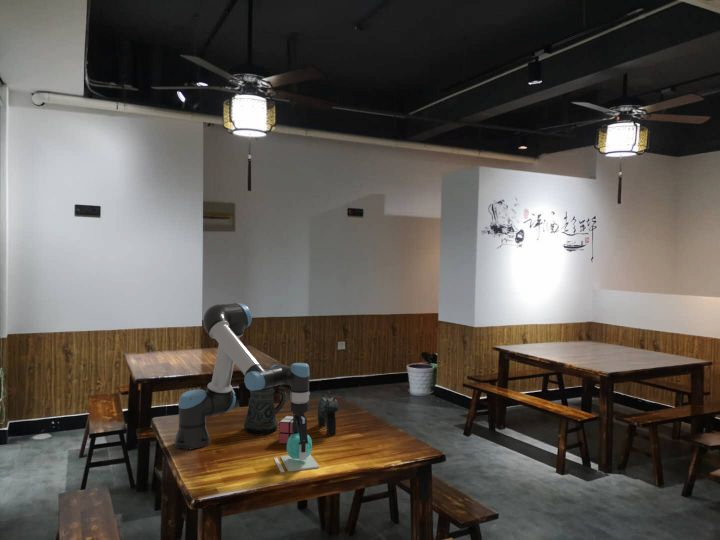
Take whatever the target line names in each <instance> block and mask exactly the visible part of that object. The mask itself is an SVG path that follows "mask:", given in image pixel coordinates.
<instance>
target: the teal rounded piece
mask: <svg viewBox="0 0 720 540" xmlns="http://www.w3.org/2000/svg"><path fill="white" fill-rule="evenodd" d="M307 437H308V444H306V457H308V456H309V455H310V454H311V453H312V452H311V451H312V448H313V447H312V446H313V443H312V442H313V441H312V437H311V436H310V435H309V434H307ZM303 441H305V440H303ZM298 443H300V437H299V433H297V434H292V435H291V436H290V437H289V439H288V442H287V444H286V453H287V454H288V455H289V456H290V457H291V458H294V459H299V444H298ZM288 455H287V456H288Z"/></svg>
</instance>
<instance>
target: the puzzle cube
mask: <svg viewBox="0 0 720 540" xmlns="http://www.w3.org/2000/svg"><path fill="white" fill-rule="evenodd" d="M292 425H293V415H291V416H290V415H286V416H285V417H284V418H282V419H281V420H280V421H279V422H278V432H279V433H278V443H279V444H282V445H287V442H288V439H289V437H290V436H291V435H292V434H293V432H292Z"/></svg>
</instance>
